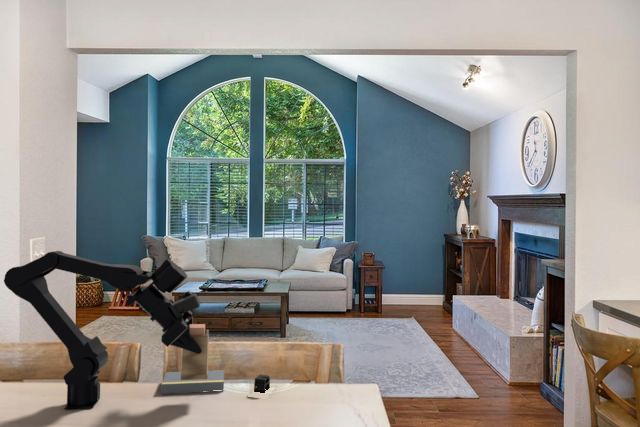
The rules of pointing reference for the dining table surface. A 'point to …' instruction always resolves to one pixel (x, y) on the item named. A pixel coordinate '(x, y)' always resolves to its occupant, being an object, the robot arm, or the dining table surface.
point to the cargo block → (197, 329)
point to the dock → (192, 383)
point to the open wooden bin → (196, 360)
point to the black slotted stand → (262, 383)
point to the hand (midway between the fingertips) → (201, 348)
